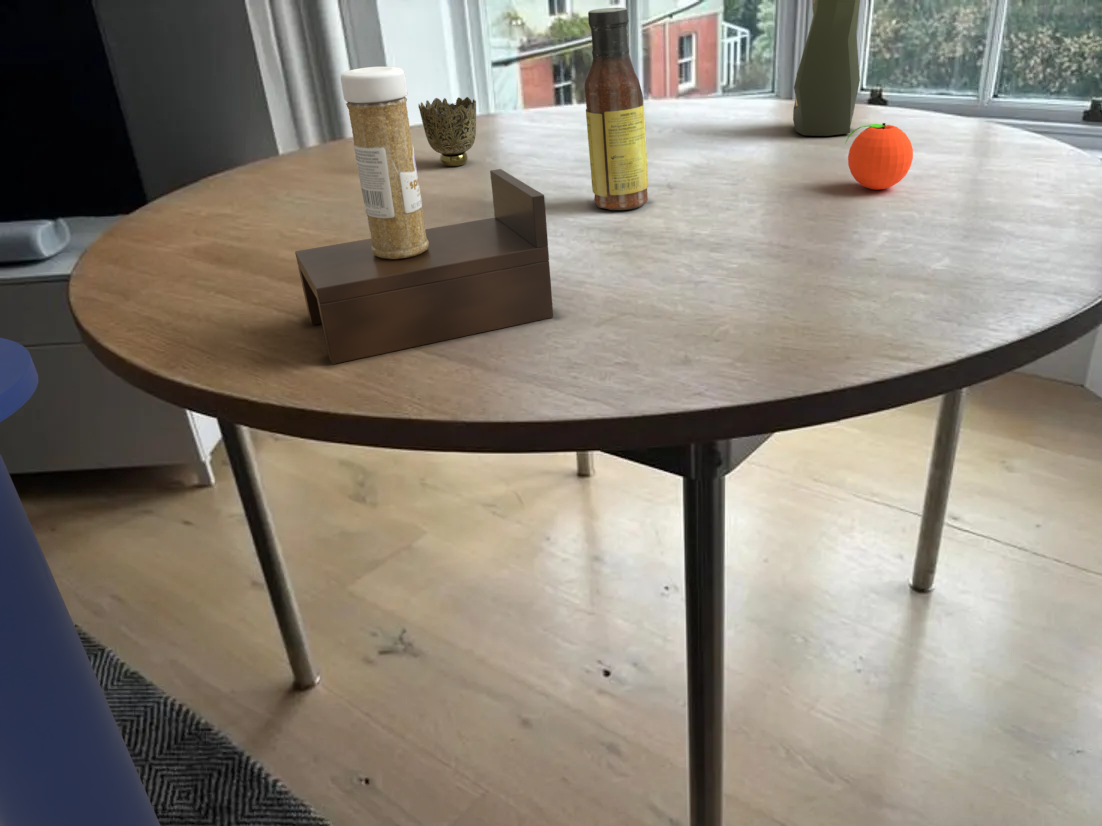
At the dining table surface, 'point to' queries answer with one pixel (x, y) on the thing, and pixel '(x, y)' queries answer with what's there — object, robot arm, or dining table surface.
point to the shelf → (434, 281)
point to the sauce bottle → (615, 116)
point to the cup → (450, 128)
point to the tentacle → (828, 70)
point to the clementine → (880, 156)
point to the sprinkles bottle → (386, 160)
